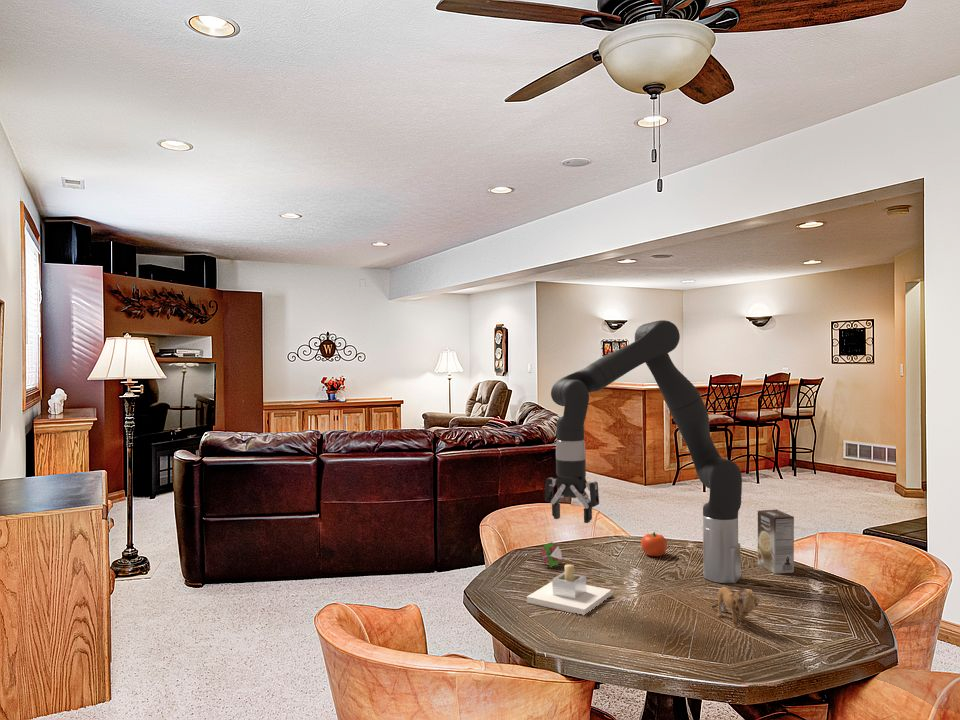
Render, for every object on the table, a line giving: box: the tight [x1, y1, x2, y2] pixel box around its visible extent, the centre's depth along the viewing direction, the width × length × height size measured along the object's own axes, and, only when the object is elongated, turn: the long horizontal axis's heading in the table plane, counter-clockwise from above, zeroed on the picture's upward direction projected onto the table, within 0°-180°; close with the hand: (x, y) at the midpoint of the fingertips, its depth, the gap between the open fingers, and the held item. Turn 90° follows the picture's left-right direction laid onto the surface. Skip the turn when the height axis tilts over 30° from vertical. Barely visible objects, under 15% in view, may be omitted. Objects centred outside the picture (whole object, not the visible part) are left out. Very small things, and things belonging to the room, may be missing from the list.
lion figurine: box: [711, 586, 761, 628], centre depth 159 cm, size 15×5×9 cm, turn 19°
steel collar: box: [551, 571, 587, 599], centre depth 174 cm, size 6×6×4 cm
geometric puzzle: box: [538, 541, 564, 568], centre depth 201 cm, size 7×7×8 cm
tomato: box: [640, 531, 668, 557], centre depth 210 cm, size 8×8×7 cm
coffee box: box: [757, 509, 795, 574], centre depth 196 cm, size 9×6×16 cm
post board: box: [526, 563, 612, 616], centre depth 174 cm, size 16×16×8 cm
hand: (571, 520), depth 174 cm, fingers open, 8 cm apart
